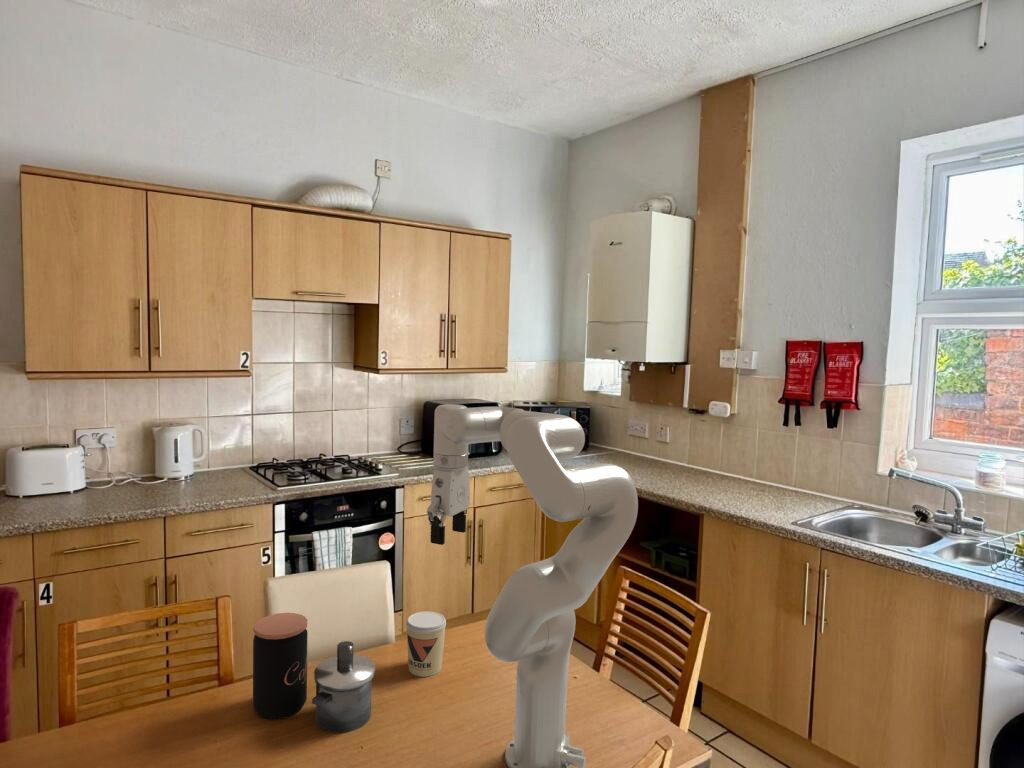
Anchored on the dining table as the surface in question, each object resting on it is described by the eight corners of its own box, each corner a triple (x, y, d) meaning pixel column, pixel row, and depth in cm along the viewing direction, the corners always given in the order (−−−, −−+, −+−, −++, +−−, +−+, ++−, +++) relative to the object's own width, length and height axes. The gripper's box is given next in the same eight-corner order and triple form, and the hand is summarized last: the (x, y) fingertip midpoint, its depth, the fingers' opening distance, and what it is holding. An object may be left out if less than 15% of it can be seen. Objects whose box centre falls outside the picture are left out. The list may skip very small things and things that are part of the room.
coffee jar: (289, 725, 128) (290, 638, 127) (241, 717, 130) (242, 631, 129) (316, 696, 138) (317, 615, 137) (271, 689, 140) (272, 609, 139)
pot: (390, 702, 137) (391, 662, 136) (340, 747, 122) (341, 701, 121) (346, 689, 141) (346, 650, 141) (293, 730, 126) (293, 686, 125)
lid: (386, 667, 134) (387, 639, 133) (350, 696, 123) (350, 665, 123) (340, 654, 139) (340, 627, 138) (301, 681, 128) (301, 651, 127)
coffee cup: (398, 674, 148) (399, 624, 148) (415, 655, 157) (416, 608, 157) (435, 681, 146) (436, 630, 145) (451, 662, 155) (452, 614, 154)
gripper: (446, 469, 131) (444, 551, 132) (483, 456, 147) (480, 529, 148) (414, 465, 134) (413, 545, 135) (454, 453, 150) (452, 525, 151)
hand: (448, 537), depth 141 cm, fingers open, 9 cm apart
